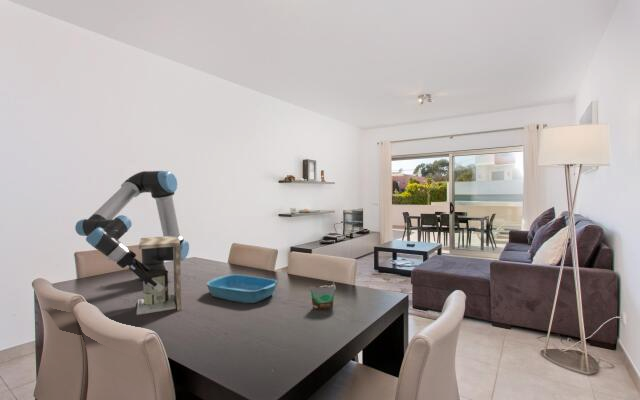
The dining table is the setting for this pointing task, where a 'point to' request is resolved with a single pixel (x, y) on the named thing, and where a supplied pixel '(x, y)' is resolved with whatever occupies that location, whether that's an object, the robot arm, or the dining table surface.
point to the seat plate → (156, 306)
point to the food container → (323, 296)
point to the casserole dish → (242, 288)
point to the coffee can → (151, 293)
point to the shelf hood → (173, 242)
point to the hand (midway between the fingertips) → (161, 285)
